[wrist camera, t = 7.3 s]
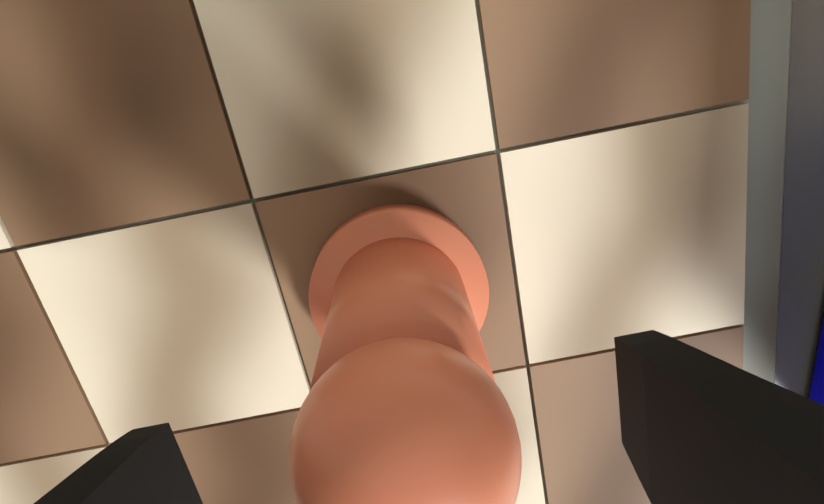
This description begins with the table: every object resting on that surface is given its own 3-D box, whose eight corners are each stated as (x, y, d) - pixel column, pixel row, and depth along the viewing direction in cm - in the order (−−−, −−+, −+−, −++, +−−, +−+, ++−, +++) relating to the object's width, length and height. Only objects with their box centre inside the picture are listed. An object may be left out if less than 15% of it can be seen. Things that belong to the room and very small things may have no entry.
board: (10, 616, 19) (-15, 652, 18) (-387, 4, 12) (-468, -2, 11) (749, 484, 18) (772, 512, 17) (770, -253, 11) (812, -287, 10)
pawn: (336, 374, 15) (281, 700, 7) (292, 223, 13) (166, 437, 6) (494, 344, 14) (605, 643, 7) (469, 187, 13) (575, 359, 6)
